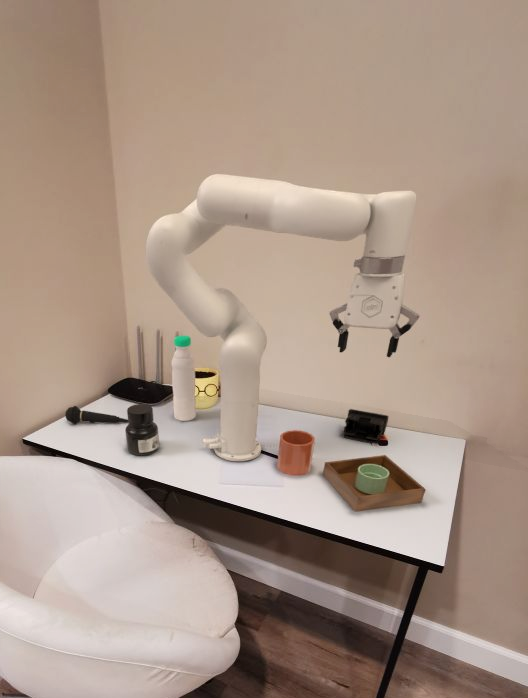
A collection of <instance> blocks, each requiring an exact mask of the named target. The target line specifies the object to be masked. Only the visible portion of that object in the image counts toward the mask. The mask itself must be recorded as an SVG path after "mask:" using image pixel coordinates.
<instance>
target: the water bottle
mask: <svg viewBox="0 0 528 698" xmlns="http://www.w3.org/2000/svg"><path fill="white" fill-rule="evenodd" d="M173 343H174V347H175V351H174V353H173V356H172V358H171V361H170V362H171V363H170V364H171V385H172V386H171V387H172V394H173V397H172V403H173V417H174V419H176V420H177V421H181V422H188V421H192V420H194V419H195V418H196V416H197V409H196V403H197V402H196V401H197V399H196V367H195V365H196V359H195V357H194V355H193V352H192V351H191V350H190V347H191V344H192V338H191V337H190V336H189V335H177V336H175V337H174V341H173Z"/></svg>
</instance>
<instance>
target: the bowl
mask: <svg viewBox="0 0 528 698" xmlns="http://www.w3.org/2000/svg"><path fill="white" fill-rule="evenodd" d="M388 478H389V471H388V470H387V469H386V468H384V467H382V466H379V465H376V464H363V465H361V466H359V468H358V470H357V475H356V479H355V487H356V488H357V489H358V490H359V491H361V492H363V493H366V494H370V495H373V494H381V493H383V492H384V491H385V489H386V485H387V482H388Z"/></svg>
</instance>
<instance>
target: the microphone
mask: <svg viewBox="0 0 528 698" xmlns="http://www.w3.org/2000/svg"><path fill="white" fill-rule="evenodd" d="M64 416H65V419H66V420H67V422H69V423H71V424H72V425H77V424H79V423H80V422H84V423H90V424H95V423H101V424H102V423H105V424H117V423H118V424H119V423H129V422H128V418H124V417H120V416H117V415H113V414H107V413H101V412H95V411H88V410H81V408H79V407H78V406H77V405H74V406H70V407H68V408H67V409H66V411H65V415H64Z"/></svg>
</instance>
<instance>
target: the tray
mask: <svg viewBox="0 0 528 698" xmlns="http://www.w3.org/2000/svg"><path fill="white" fill-rule="evenodd" d="M363 464H376V465H379V466H382V467H384V468H386V469H387V470H388V471H389V478H388V482H387V485H386V489H385V491H384V492H383V493H381V494H373V495H370V494H366V493H363V492H361V491H359V490H358V489H357V488H356V487H355V479H356V475H357V470H358V468H359V466H361V465H363ZM322 475H323V477H324V478H325V479H326V480H327V481H328V482H329V484H330V485H331V486H332V487H333V489H334V490H335V491H336V492H337V493H338V495H340V496H341V498H342V499H343V500H344V501H345V502H346V503H347V504H348V506H349V507H350V508H351V509H352V511H353V512H355V513H357V512H363V511H372V510H380V509H386V508H387V509H388V508H394V507H402V506H410V505H417V504H422V502H423V500H424V496H425V494H426V488H425V487H424V486H422V485H421V484H420V483H419V482H418V481H416V479H414V478H413V477H412V476H411V475H409V473H408V472H406V471H405V470H404V469H402V468H401V467H400V466H399V465H398V464H397V463H396V462H394V461H393V460H392V459H390V457H388V456H387V455H386V454H383V455H374V456H366V457H365V456H364V457H358V458H350V459H349V458H348V459H341V460H340V459H339V460H333V461H325V462H324V468H323V473H322Z"/></svg>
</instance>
